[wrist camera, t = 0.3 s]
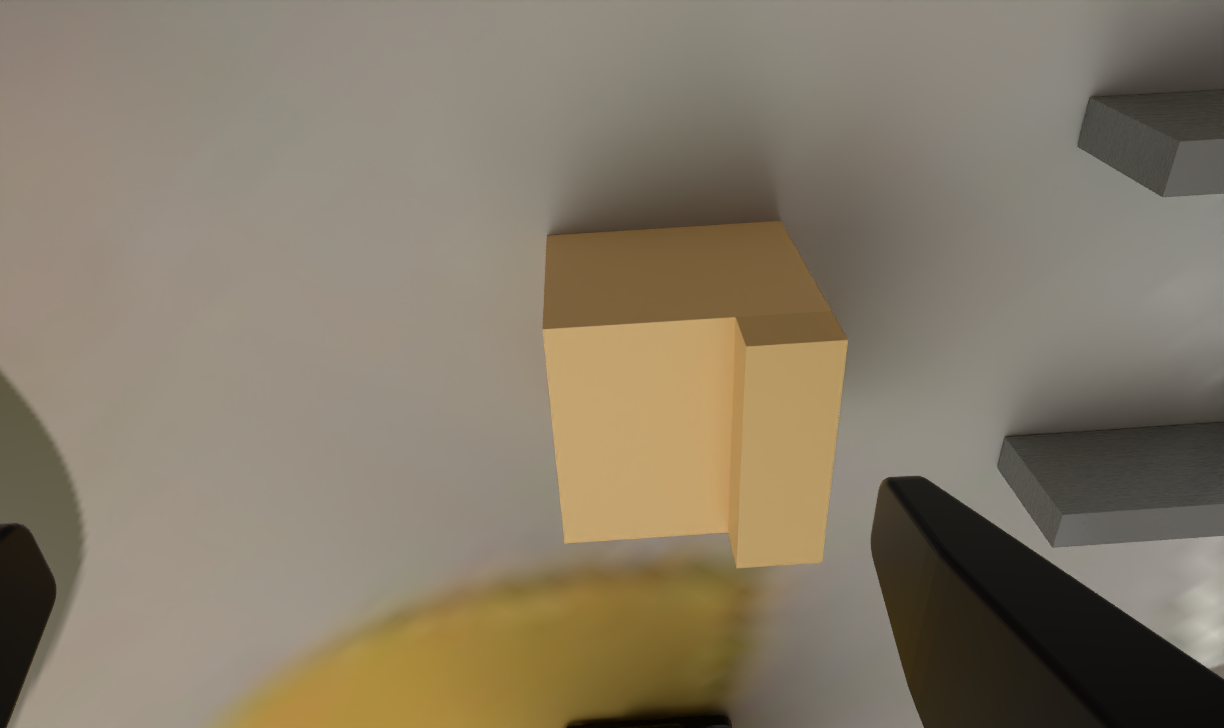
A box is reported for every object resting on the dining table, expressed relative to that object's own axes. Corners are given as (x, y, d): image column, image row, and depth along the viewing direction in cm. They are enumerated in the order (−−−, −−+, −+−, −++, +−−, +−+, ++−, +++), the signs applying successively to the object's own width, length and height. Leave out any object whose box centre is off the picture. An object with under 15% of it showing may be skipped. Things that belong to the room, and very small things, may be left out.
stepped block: (767, 410, 25) (821, 562, 20) (564, 423, 25) (564, 580, 20) (779, 219, 22) (848, 339, 16) (546, 233, 22) (541, 359, 16)
